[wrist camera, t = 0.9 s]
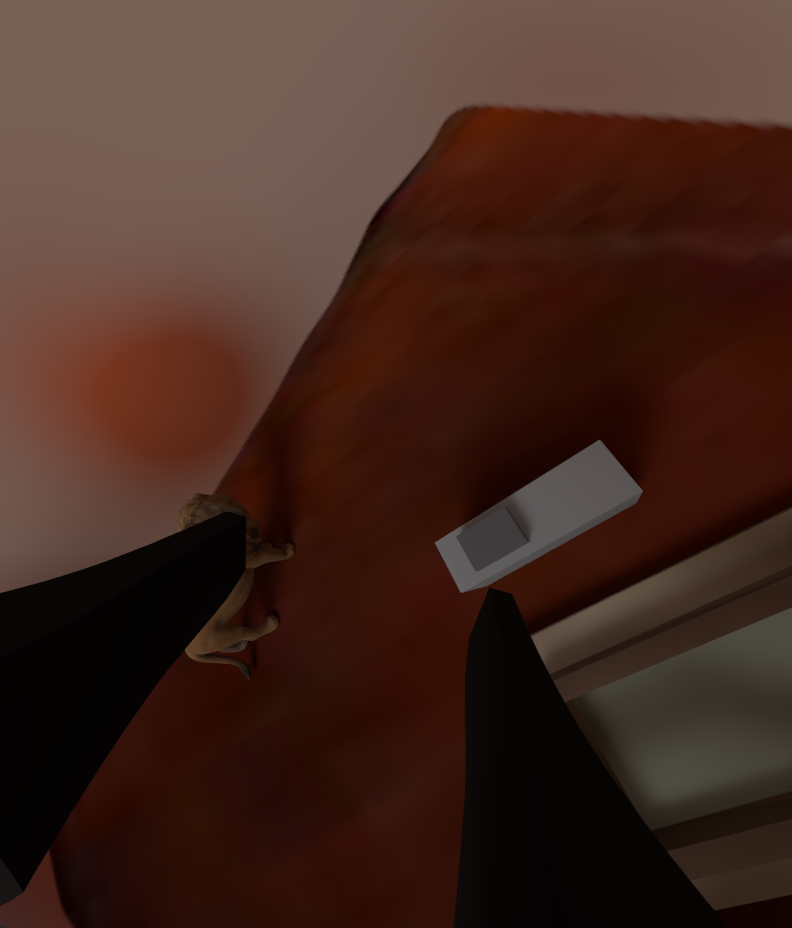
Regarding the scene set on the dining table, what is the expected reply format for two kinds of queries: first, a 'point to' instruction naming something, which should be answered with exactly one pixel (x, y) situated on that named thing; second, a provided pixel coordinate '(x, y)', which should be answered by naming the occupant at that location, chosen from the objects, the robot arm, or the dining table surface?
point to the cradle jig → (696, 706)
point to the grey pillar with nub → (539, 518)
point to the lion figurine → (219, 627)
